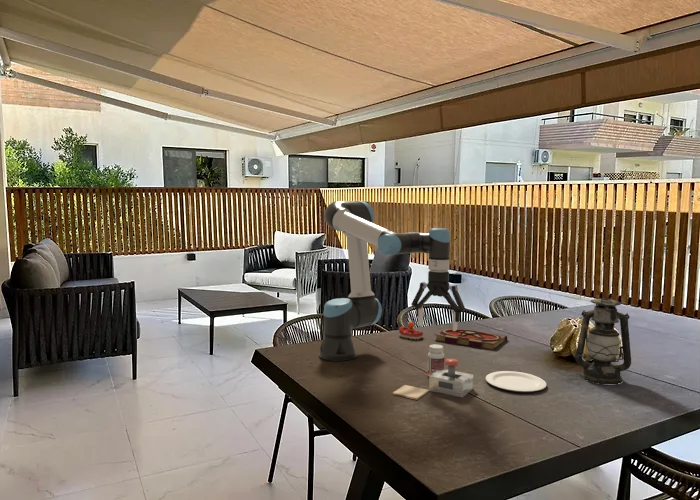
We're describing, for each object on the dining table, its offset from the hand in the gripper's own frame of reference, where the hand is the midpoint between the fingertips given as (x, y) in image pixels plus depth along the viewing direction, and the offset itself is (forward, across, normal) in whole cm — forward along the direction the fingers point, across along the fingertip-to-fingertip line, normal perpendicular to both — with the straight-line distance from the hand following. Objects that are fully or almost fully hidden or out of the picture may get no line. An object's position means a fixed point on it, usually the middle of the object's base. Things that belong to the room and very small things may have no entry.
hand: (437, 327), depth 192 cm
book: (+19, -6, +56) cm, 59 cm away
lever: (+14, +10, -10) cm, 20 cm away
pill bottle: (+18, 0, 0) cm, 18 cm away
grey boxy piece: (+18, +10, -10) cm, 23 cm away
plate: (+19, +27, +8) cm, 34 cm away
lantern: (+18, +53, +30) cm, 63 cm away
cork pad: (+18, 0, -21) cm, 28 cm away
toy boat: (+18, -32, +45) cm, 58 cm away
